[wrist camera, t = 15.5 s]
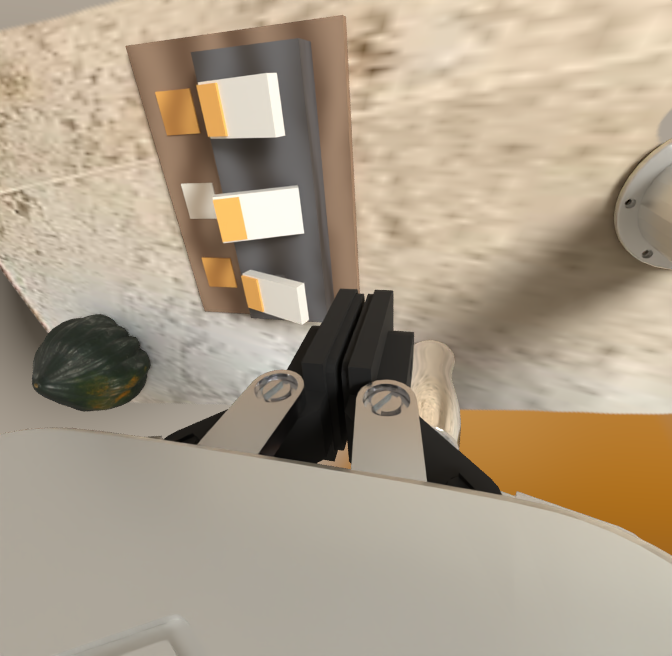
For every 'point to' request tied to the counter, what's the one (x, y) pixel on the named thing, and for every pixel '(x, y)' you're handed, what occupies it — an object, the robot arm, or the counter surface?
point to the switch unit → (259, 156)
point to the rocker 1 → (242, 107)
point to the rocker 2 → (259, 213)
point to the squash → (90, 364)
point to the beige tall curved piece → (436, 388)
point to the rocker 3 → (276, 296)
